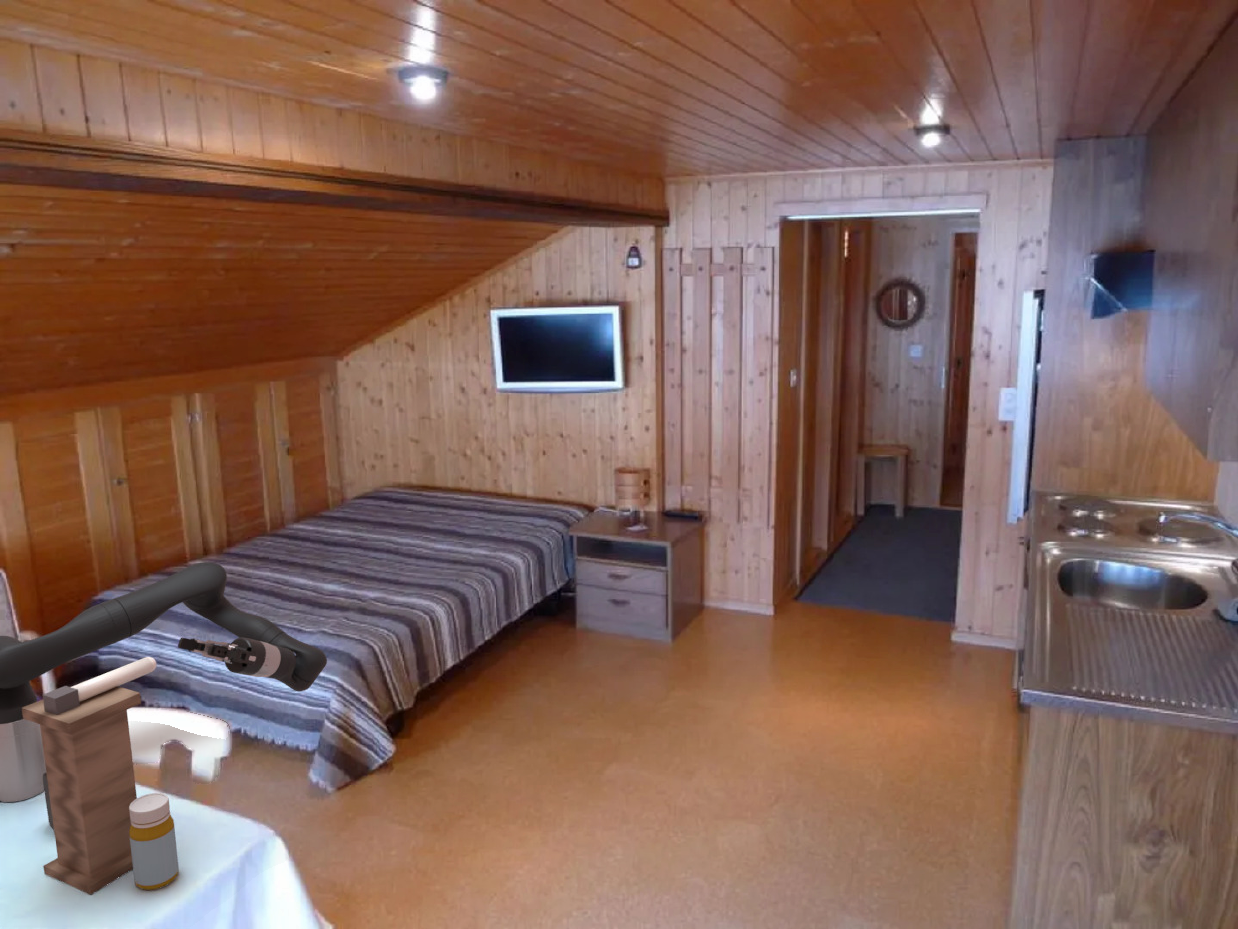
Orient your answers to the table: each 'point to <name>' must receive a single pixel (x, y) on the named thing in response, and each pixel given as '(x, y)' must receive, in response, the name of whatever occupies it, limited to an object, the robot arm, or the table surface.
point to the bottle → (153, 842)
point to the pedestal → (89, 787)
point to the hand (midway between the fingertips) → (194, 646)
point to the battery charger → (47, 799)
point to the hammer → (95, 686)
